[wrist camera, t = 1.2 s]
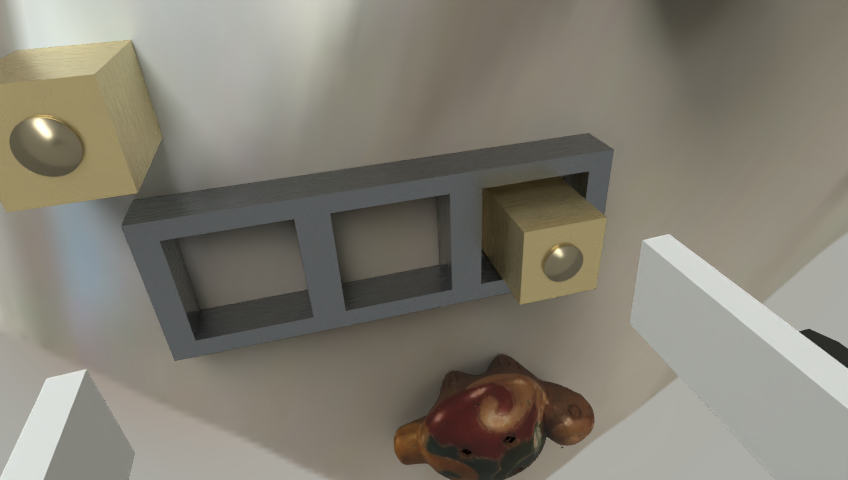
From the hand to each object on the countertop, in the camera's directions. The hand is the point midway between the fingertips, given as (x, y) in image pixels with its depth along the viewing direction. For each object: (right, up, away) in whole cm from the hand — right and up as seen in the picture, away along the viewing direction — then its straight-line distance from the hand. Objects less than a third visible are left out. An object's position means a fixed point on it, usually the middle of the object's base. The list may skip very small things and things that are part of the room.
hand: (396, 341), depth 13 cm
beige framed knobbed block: (+7, +5, +24) cm, 25 cm away
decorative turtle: (+5, -10, +32) cm, 34 cm away
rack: (-2, +3, +22) cm, 22 cm away
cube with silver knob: (-16, +10, +14) cm, 23 cm away
